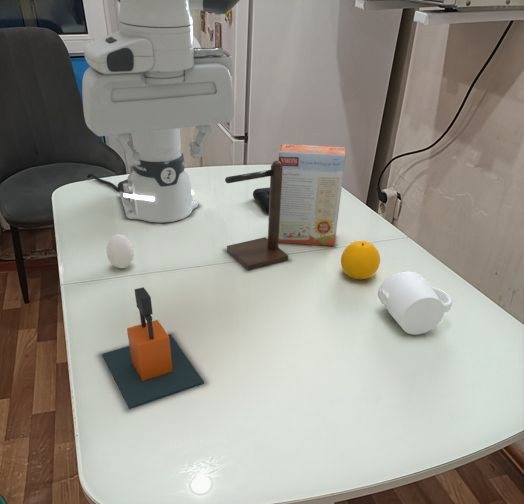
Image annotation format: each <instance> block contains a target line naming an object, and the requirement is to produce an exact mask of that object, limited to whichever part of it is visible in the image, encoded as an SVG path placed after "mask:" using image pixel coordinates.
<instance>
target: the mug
mask: <svg viewBox="0 0 524 504" xmlns="http://www.w3.org/2000/svg"><path fill="white" fill-rule="evenodd" d="M377 296H378V299H379V301H380V303H381V304H382V305H384V307H386V308H387V312H388V313H389V315H390V316H391V317H392V318H393V320H394V321H396V323H397V324H398V325H399V327H400V328H401V329H402V330H403V331H404V332H405V333H407V334H409V335H415V336H416V335H418V336H419V335H423V334H426V333H428V332H430V331H432V330H433V329H434V328H436V327H437V326H438V325H439V324H440V322H441V321H442V320H443V318H444V314H445V313H448V312H449V311H450V310H451V308H452V305H453V300H452V297H451V296H450V295H449V294H448V293H447V292H445V291H444V290H442V289H440V288H438V287H435V286H432V285H431V284H430V282H429V280H428V278H427V277H425V276H423V275H422V274H420V273H418V272H415V271H401V272H397V273H393V274H392V275H390V276H388V277H387V278H386V279H384V280H383V281H382V282H381V284H380V285H379V287H378V290H377Z"/></svg>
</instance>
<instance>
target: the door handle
mask: <svg viewBox="0 0 524 504" xmlns="http://www.w3.org/2000/svg"><path fill="white" fill-rule="evenodd" d="M252 197H253V199H254V200H256V201H257V202H258V204H259V205H260V206H261V208H262V209H263V211H264V212H265V213H267V214H269V198H270V186H268V187H260V188H255V189H254V190H253V192H252Z"/></svg>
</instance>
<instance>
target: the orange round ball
mask: <svg viewBox="0 0 524 504" xmlns="http://www.w3.org/2000/svg"><path fill="white" fill-rule="evenodd" d="M380 264H381V256H380V252H379V250H378V248H377V247H376V246H375V245H374V244H373V243H371V242H370V241H367V240H356V241H353V242H351V243H349V244H348V245H347V246H346V247H345V248H344V250H343V252H342V254H341V257H340V265H341V268H342V270H343V272H344V274H345V275H347V276H348V277H349V278H352V279H355V280H367V279H369V278H371V277H373V276H374V275H375V274H376V273H377V272H378V270H379V267H380Z"/></svg>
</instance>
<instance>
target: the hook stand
mask: <svg viewBox="0 0 524 504" xmlns="http://www.w3.org/2000/svg"><path fill="white" fill-rule="evenodd" d="M282 171H283V166H282V164H281V162H279V160H274V161H273V162H272V164H271V165H270V169H267V170H262V171H261V170H260V171H255V172H248V173H242V174H237V175H230V176H226V177H225V179H224V181H225V183H226V184H231V183H238V182H245V181H251V180H255V179H256V180H257V179H262V178H268V177H270V178H269V187H270V198H269V213H268V222H267V223H268V225H267V237H266V236H263V237H260V238H255V239H250V240H246V241H243V242H237V243H233V244H229V245H226V251H227V252H228V253H229V254H230V255H231V256H232V257H233V258H234V259H235V260H236V261H237V262H238V263H240V265H241V266H242V267H244V268H245V269H246V270H247V271H251V270H256V269H259V268H264V267H267V266H271V265H276V264H279V263H283V262H287V261H289V254H287V253H286V252H284V251H283V250H282V249H281V248H279V242H278V241H279V223H280V206H281V188H282Z"/></svg>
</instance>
